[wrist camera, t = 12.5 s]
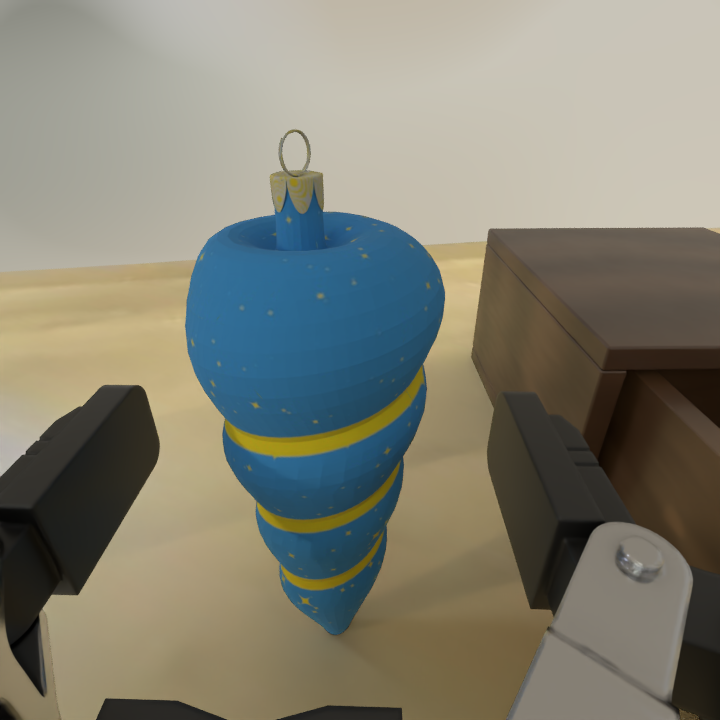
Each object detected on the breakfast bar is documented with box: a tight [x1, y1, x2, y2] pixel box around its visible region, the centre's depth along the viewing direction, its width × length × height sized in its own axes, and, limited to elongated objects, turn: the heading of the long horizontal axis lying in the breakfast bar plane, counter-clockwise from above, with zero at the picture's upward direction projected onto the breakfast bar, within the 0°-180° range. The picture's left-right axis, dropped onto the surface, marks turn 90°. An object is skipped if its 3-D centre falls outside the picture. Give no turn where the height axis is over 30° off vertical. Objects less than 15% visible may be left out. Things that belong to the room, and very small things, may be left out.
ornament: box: [185, 130, 445, 635], centre depth 12 cm, size 5×5×15 cm
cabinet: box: [471, 228, 720, 459], centre depth 23 cm, size 15×13×9 cm
